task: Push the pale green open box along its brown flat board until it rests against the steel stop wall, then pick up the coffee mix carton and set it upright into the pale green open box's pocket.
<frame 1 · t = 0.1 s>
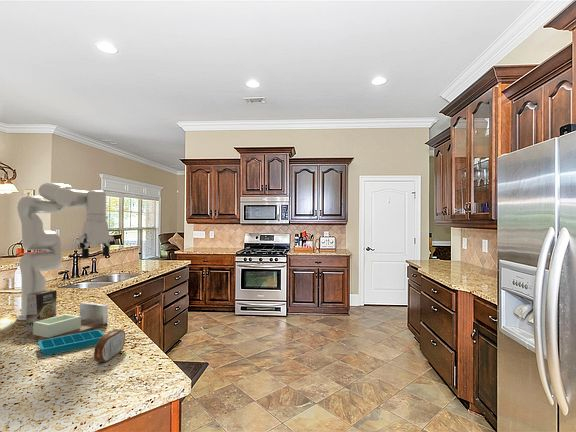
hand: (95, 257, 146), 31 cm above the countertop, tool pointing down, fingers open, 9 cm apart
tin: (110, 357, 113), on the countertop
pale green open box: (57, 325, 137), point 4 cm above the countertop, slide at 8.0 cm
stop wall: (93, 323, 152), resting on brown flat board
coffee box: (41, 329, 144), on the countertop
ice cube tray: (72, 347, 124), on the countertop
brown flat board: (69, 330, 142), on the countertop
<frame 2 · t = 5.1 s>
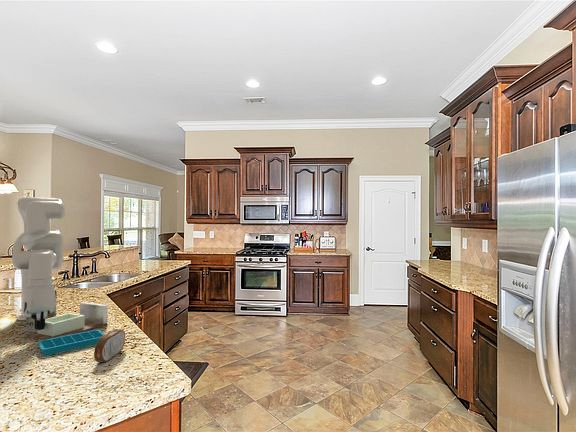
hand: (39, 329, 131), 4 cm above the countertop, tool pointing down, fingers closed
pale green open box: (61, 324, 139), point 4 cm above the countertop, slide at 6.4 cm, touching gripper
everything else where it was.
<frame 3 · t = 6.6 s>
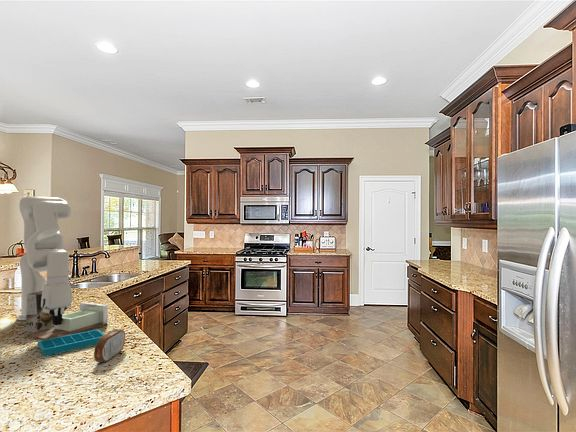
hand: (57, 324, 137), 4 cm above the countertop, tool pointing down, fingers closed
pale green open box: (77, 319, 145), point 4 cm above the countertop, slide at -0.2 cm, touching gripper
everything else where it was.
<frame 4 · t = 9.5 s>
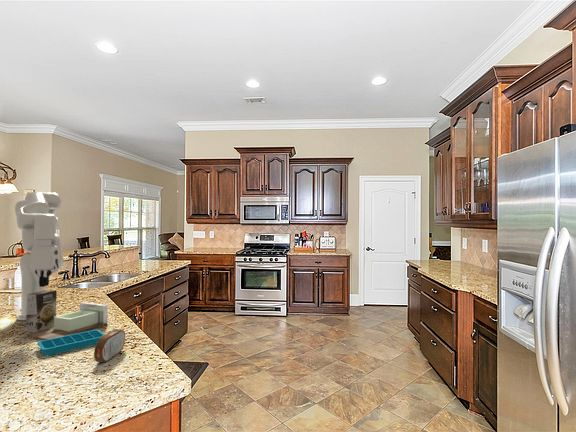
hand: (43, 286, 141), 19 cm above the countertop, tool pointing down, fingers closed
pale green open box: (76, 320, 145), point 4 cm above the countertop, slide at 0.0 cm
everything else where it was.
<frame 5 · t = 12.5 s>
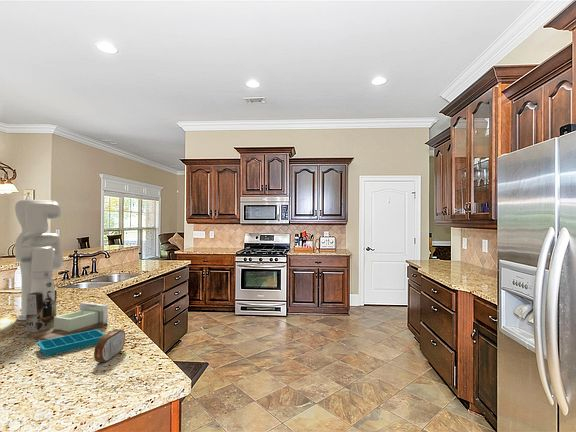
hand: (41, 315, 145), 6 cm above the countertop, tool pointing down, fingers closed on coffee box, 7 cm apart
coffee box: (41, 329, 144), on the countertop, touching gripper
everything else where it was.
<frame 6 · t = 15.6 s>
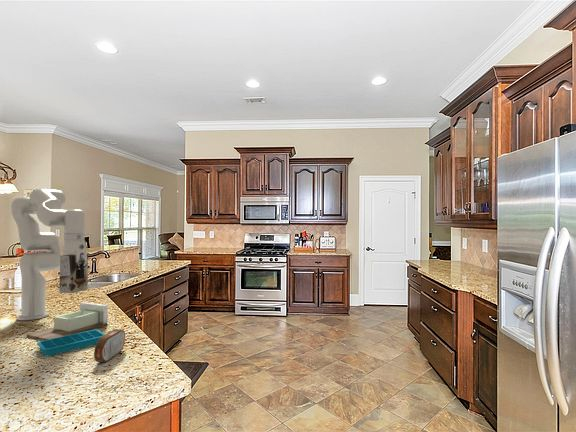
hand: (74, 277, 145), 22 cm above the countertop, tool pointing down, fingers closed on coffee box, 7 cm apart
coffee box: (74, 291, 145), point 16 cm above the countertop, touching gripper
everything else where it was.
when the fingers open (9 cm above the countertop, at t = 18.6 s): coffee box drops 1 cm, resting on pale green open box.
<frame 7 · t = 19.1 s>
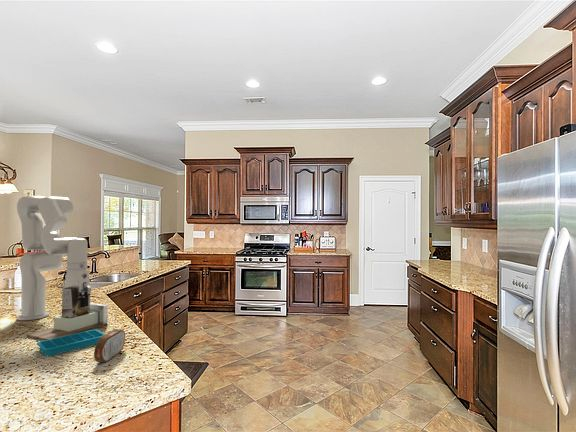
hand: (76, 305, 145), 10 cm above the countertop, tool pointing down, fingers open, 9 cm apart
pale green open box: (76, 320, 145), point 4 cm above the countertop, slide at 0.1 cm, touching coffee box
coffee box: (76, 324, 144), point 2 cm above the countertop, touching pale green open box
everything else where it was.
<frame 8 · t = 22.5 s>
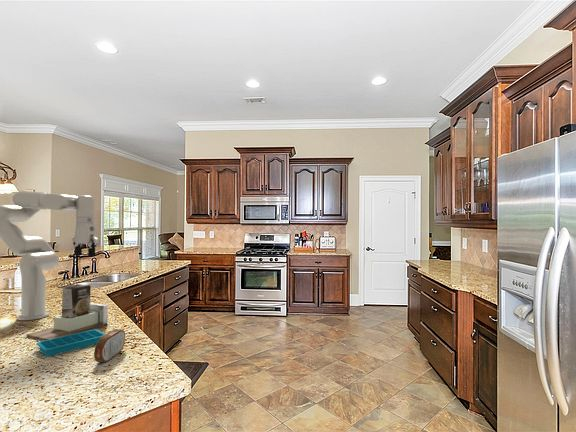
hand: (84, 255, 161), 30 cm above the countertop, tool pointing down, fingers open, 9 cm apart
nothing on the countertop moved.
at the end: pale green open box slide at 0.1 cm; coffee box 0.1 cm off-centre on the pale green open box, point 2.0 cm above the pale green open box's base; coffee box tilted 0° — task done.
